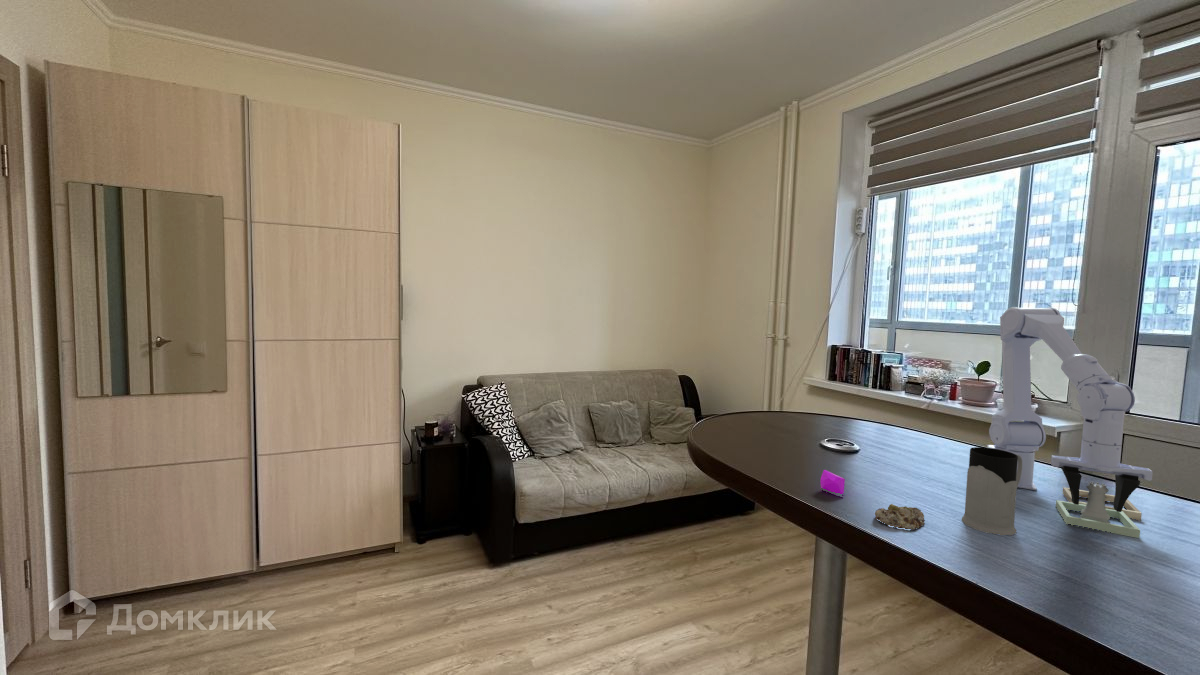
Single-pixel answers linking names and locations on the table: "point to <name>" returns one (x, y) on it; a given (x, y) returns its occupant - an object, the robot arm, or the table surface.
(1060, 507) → the sage square frame
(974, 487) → the beige black oval cylinder
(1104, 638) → the table surface
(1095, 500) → the rook chess piece
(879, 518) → the mineral rock
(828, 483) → the crystal
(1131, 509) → the beige square frame
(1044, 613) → the table surface
